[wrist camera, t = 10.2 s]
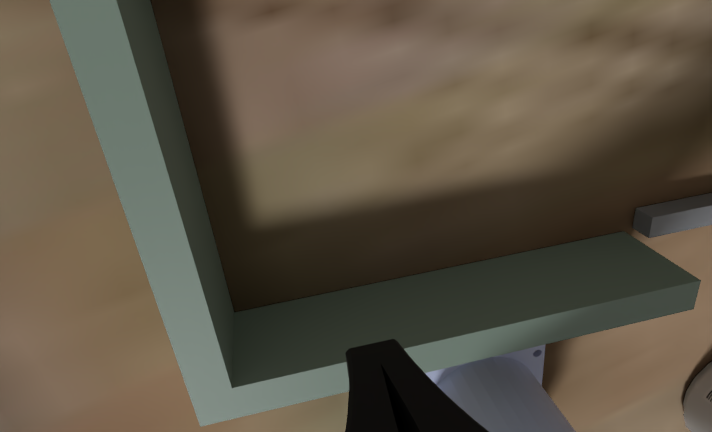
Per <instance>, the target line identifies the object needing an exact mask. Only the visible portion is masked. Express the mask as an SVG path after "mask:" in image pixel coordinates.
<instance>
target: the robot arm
mask: <svg viewBox="0 0 712 432" xmlns="http://www.w3.org/2000/svg"><path fill="white" fill-rule="evenodd" d="M345 355H346V362H347V369H348V377H349V400H348V415H347V424H346V431H345V432H576V431H575V430H574V429H573V427H572V426H571V425H570V423H569V422H568V421H567V419H566V418H565V417H564V415H563V414H562V413H561V411H560V410H559V409H558V407H557V406H556V405H555V403H554V402H553V401H552V399H551V398H550V397H549V395H548V394H547V393H546V391H545V390H544V389H543V387H542V378H543V367H544V356H545V345H540V346H536V347H532V348H528V349H524V350H520V351H515V352H511V353H507V354H503V355H499V356H494V357H490V358H486V359H482V360H478V361H473V362H469V363H465V364H461V365H457V366H452V367H448V368H444V369H440V370H436V371H431V372H427V373H424V372H423V371H422V369H421V368H420V367H419V366H418V365H417V364H416V363H415V362H414V361H413V359H412V358H411V357H410V356H409V355H408V354H407V352H406V351H405V350H404V349H403V347H402V346H401V345H400V344H399V342H398V341H396V340H395V339H390V340H386V341H381V342H376V343H372V344H367V345H363V346H358V347H353V348H349V349H348V350H347V351H346V353H345Z"/></svg>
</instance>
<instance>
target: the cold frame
mask: <svg viewBox="0 0 712 432" xmlns="http://www.w3.org/2000/svg"><path fill="white" fill-rule="evenodd" d="M50 3H51V6H52V9H53V11H54V14H55V17H56V20H57V23H58V26H59V28H60V31H61V34H62V37H63V40H64V42H65V45H66V48H67V51H68V54H69V57H70V59H71V62H72V65H73V68H74V71H75V74H76V76H77V79H78V82H79V85H80V88H81V90H82V93H83V96H84V99H85V102H86V105H87V107H88V110H89V113H90V116H91V119H92V122H93V124H94V127H95V130H96V133H97V136H98V139H99V141H100V144H101V147H102V150H103V153H104V155H105V158H106V161H107V164H108V167H109V170H110V172H111V175H112V178H113V181H114V184H115V187H116V189H117V192H118V195H119V198H120V201H121V203H122V206H123V209H124V212H125V215H126V218H127V220H128V223H129V226H130V229H131V232H132V235H133V237H134V240H135V243H136V246H137V249H138V252H139V254H140V257H141V260H142V263H143V266H144V268H145V271H146V274H147V277H148V280H149V283H150V285H151V288H152V291H153V294H154V297H155V300H156V302H157V305H158V308H159V311H160V314H161V316H162V319H163V322H164V325H165V328H166V331H167V333H168V336H169V339H170V342H171V345H172V348H173V350H174V353H175V356H176V359H177V362H178V365H179V367H180V370H181V373H182V376H183V379H184V381H185V384H186V387H187V390H188V393H189V396H190V398H191V401H192V404H193V407H194V410H195V413H196V415H197V418H198V421H199V424H200V427H201V426H205V425H209V424H213V423H218V422H222V421H226V420H230V419H234V418H239V417H243V416H247V415H251V414H255V413H260V412H264V411H268V410H272V409H276V408H280V407H285V406H289V405H293V404H297V403H301V402H306V401H310V400H314V399H318V398H322V397H327V396H331V395H335V394H339V393H343V392H348V391H349V377H348V369H347V362H346V355H345V353H346V351H347V350H348V349H349V348H353V347H358V346H363V345H367V344H372V343H376V342H381V341H386V340H390V339H395V340H396V341H398V342H399V344H400V345H401V346H402V347H403V349H404V350H405V351H406V352H407V354H408V355H409V356H410V357H411V358H412V359H413V361H414V362H415V363H416V364H417V365H418V366H419V367H420V368H421V369H422V371H423V372H424V373H427V372H431V371H436V370H440V369H444V368H448V367H452V366H457V365H461V364H465V363H469V362H473V361H478V360H482V359H486V358H490V357H494V356H499V355H503V354H507V353H511V352H515V351H520V350H524V349H528V348H532V347H536V346H540V345H545V344H549V343H553V342H557V341H561V340H566V339H570V338H574V337H578V336H582V335H587V334H591V333H595V332H599V331H603V330H608V329H612V328H616V327H620V326H624V325H629V324H633V323H637V322H641V321H645V320H650V319H654V318H658V317H662V316H666V315H670V314H675V313H679V312H683V311H687V310H691V309H694V305H695V301H696V297H697V293H698V289H699V285H700V282H701V280H699V279H698V278H696V277H695V276H693V275H691V274H690V273H688V272H687V271H685V270H684V269H682V268H681V267H679V266H677V265H676V264H674V263H673V262H671V261H670V260H668V259H666V258H665V257H663V256H662V255H660V254H659V253H657V252H656V251H654V250H652V249H651V248H649V247H648V246H646V245H645V244H643V243H642V242H640V241H638V240H637V239H635V238H634V237H632V236H631V235H629V234H628V233H626V232H624V231H623V232H618V233H613V234H608V235H604V236H599V237H594V238H589V239H584V240H580V241H575V242H570V243H565V244H560V245H556V246H551V247H546V248H541V249H536V250H532V251H527V252H522V253H517V254H512V255H508V256H503V257H498V258H493V259H488V260H484V261H479V262H474V263H469V264H464V265H460V266H455V267H450V268H445V269H441V270H436V271H431V272H426V273H421V274H417V275H412V276H407V277H402V278H397V279H393V280H388V281H383V282H378V283H373V284H369V285H364V286H359V287H354V288H349V289H345V290H340V291H335V292H330V293H325V294H321V295H316V296H311V297H306V298H301V299H297V300H292V301H287V302H282V303H277V304H273V305H268V306H263V307H258V308H254V309H249V310H244V311H239V312H234V309H233V306H232V302H231V298H230V295H229V291H228V287H227V283H226V280H225V276H224V272H223V269H222V265H221V261H220V257H219V254H218V250H217V246H216V243H215V239H214V235H213V231H212V228H211V224H210V220H209V217H208V213H207V209H206V205H205V202H204V198H203V194H202V191H201V187H200V183H199V179H198V176H197V172H196V168H195V165H194V161H193V157H192V153H191V150H190V146H189V142H188V139H187V135H186V131H185V127H184V124H183V120H182V116H181V113H180V109H179V105H178V101H177V98H176V94H175V90H174V87H173V83H172V79H171V75H170V72H169V68H168V64H167V61H166V57H165V53H164V49H163V46H162V42H161V38H160V35H159V31H158V27H157V23H156V20H155V16H154V12H153V9H152V5H151V1H150V0H50Z"/></svg>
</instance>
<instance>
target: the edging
mask: <svg viewBox="0 0 712 432" xmlns="http://www.w3.org/2000/svg"><path fill="white" fill-rule="evenodd" d="M708 225H712V193H708V194H703V195H698V196H693V197H688V198H683V199H678V200H673V201H668V202H664V203H659V204H654V205H649V206H644V207H639V208H636V210H635V216H634V222H633V228H634V229H635V230H637V231H638V232H640V233H642V234H643V235H645V236H646V237H648V238H651V237H656V236H661V235H665V234H670V233H675V232H679V231H684V230H689V229H694V228H698V227H703V226H708Z"/></svg>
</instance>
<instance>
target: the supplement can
mask: <svg viewBox="0 0 712 432" xmlns="http://www.w3.org/2000/svg"><path fill="white" fill-rule="evenodd" d="M683 406H684V414H683V415H684V420H685V424H686V427H687V428H688V429H689V430H690V431H691V432H712V362H711V363H709V364H708V365H707V366H706V367H705V368H704V369H703V370H702V371H701V372H700V373H699V374H698V375H697V376H696V377H695V378H694V380H693V381H692V383H691V384H690V386H689V388H688V389H687V391H686V394H685V398H684V402H683Z"/></svg>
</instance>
